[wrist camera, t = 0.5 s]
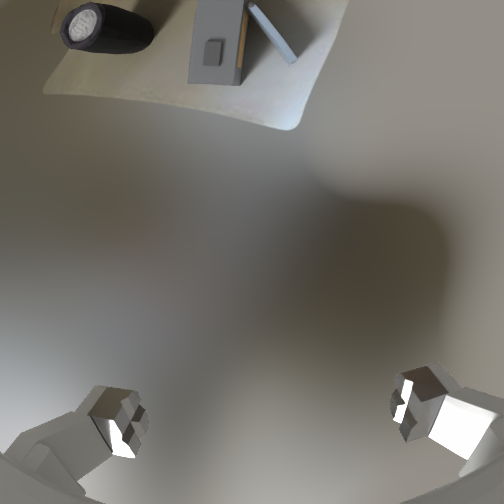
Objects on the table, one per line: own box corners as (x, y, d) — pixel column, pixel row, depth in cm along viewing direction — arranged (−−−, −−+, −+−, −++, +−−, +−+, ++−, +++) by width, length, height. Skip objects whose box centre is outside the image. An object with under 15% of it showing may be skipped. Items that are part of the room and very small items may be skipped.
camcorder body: (213, -4, 34) (199, -21, 25) (251, -3, 34) (246, -22, 25) (202, 83, 45) (186, 83, 36) (240, 85, 45) (232, 85, 36)
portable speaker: (145, 60, 42) (88, 57, 26) (110, 48, 40) (48, 46, 24) (165, 23, 38) (115, 3, 21) (129, 12, 35) (71, -4, 19)
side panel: (248, 13, 36) (244, 3, 30) (254, 10, 35) (251, -1, 29) (288, 65, 41) (291, 62, 35) (294, 62, 41) (297, 58, 35)
